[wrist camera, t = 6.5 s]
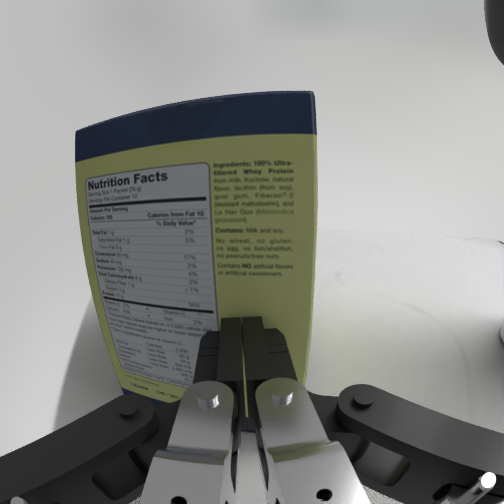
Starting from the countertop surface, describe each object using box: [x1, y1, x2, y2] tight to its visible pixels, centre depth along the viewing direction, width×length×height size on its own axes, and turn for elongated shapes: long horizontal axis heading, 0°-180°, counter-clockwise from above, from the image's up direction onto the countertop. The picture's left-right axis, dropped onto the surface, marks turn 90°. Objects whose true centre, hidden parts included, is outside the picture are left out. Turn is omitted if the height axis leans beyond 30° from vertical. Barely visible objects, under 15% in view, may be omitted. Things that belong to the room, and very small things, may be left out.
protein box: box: [75, 91, 318, 431], centre depth 18 cm, size 10×16×16 cm
